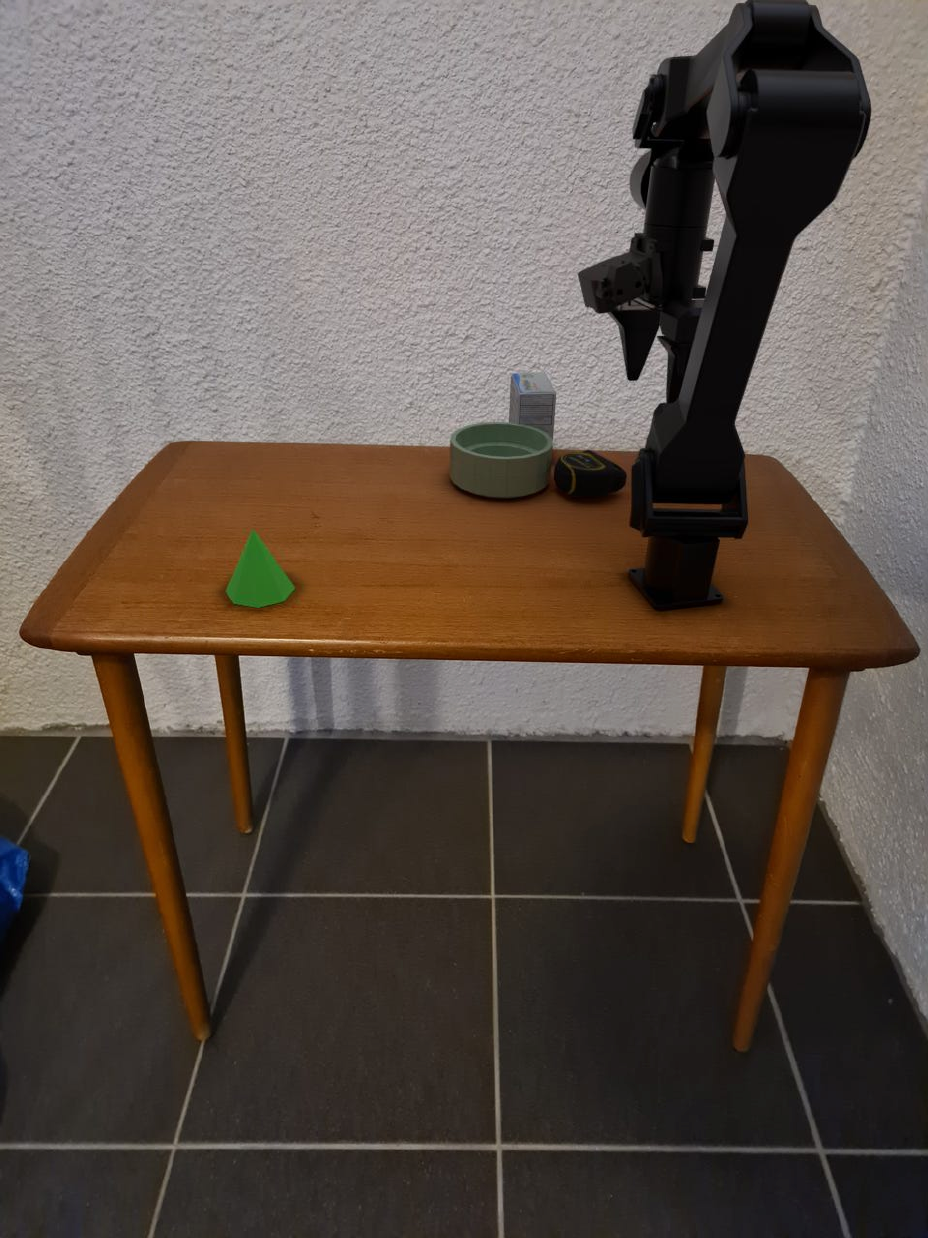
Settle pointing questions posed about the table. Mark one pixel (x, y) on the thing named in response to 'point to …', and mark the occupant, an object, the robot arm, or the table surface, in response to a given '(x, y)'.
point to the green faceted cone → (258, 577)
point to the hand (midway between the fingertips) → (651, 393)
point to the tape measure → (588, 475)
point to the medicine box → (532, 401)
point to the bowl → (500, 459)
